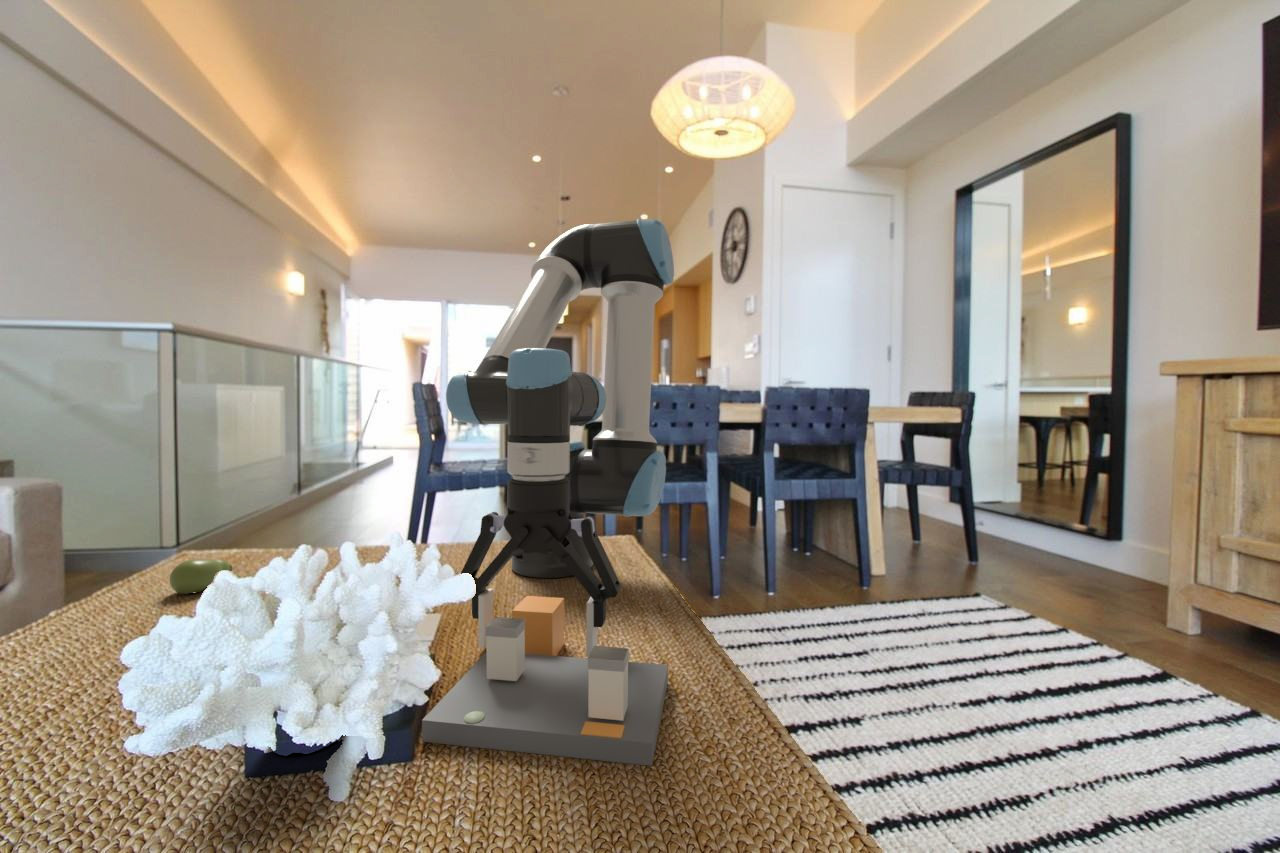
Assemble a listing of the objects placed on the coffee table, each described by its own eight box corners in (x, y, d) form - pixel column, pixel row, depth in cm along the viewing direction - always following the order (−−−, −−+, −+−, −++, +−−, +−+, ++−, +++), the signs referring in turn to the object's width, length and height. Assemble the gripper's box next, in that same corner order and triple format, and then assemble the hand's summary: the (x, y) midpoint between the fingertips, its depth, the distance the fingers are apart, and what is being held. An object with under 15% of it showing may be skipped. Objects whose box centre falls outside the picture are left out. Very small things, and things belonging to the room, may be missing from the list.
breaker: (495, 667, 59) (495, 616, 58) (525, 669, 58) (525, 618, 58) (485, 678, 56) (485, 626, 56) (516, 681, 56) (516, 628, 55)
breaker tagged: (594, 702, 52) (594, 645, 52) (628, 705, 51) (628, 648, 51) (587, 717, 49) (587, 658, 49) (623, 720, 49) (623, 660, 49)
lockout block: (526, 641, 70) (526, 595, 70) (564, 644, 70) (564, 598, 69) (512, 659, 65) (512, 610, 65) (552, 662, 65) (552, 613, 64)
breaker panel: (487, 667, 63) (487, 649, 63) (667, 682, 60) (668, 663, 60) (422, 741, 49) (422, 719, 49) (651, 765, 46) (652, 741, 46)
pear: (161, 562, 85) (210, 554, 95) (158, 597, 84) (207, 586, 94) (198, 561, 85) (243, 554, 95) (195, 596, 84) (240, 585, 94)
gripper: (427, 477, 65) (427, 653, 65) (634, 483, 61) (632, 670, 62) (457, 470, 72) (457, 628, 73) (644, 475, 68) (642, 642, 69)
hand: (538, 648), depth 67 cm, fingers open, 13 cm apart
